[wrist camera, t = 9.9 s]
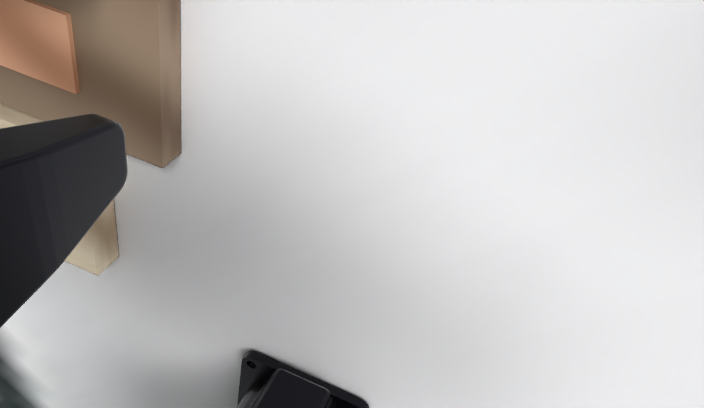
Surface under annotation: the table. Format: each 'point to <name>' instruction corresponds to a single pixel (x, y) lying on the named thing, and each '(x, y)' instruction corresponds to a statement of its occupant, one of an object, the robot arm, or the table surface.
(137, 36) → the rack board
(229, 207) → the table surface
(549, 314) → the table surface
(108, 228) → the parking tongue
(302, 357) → the table surface
